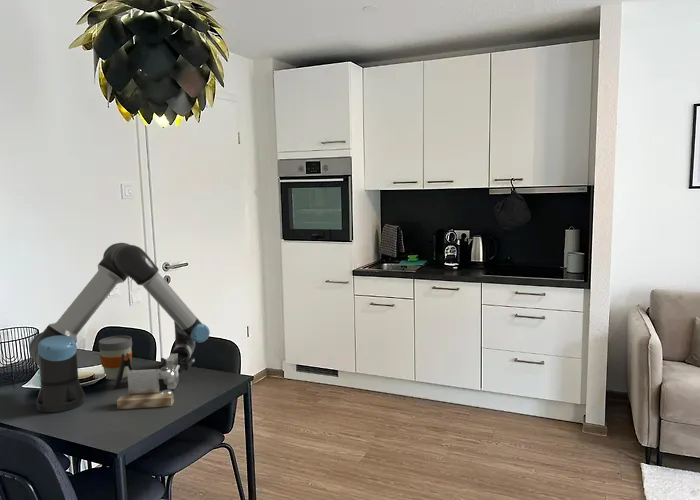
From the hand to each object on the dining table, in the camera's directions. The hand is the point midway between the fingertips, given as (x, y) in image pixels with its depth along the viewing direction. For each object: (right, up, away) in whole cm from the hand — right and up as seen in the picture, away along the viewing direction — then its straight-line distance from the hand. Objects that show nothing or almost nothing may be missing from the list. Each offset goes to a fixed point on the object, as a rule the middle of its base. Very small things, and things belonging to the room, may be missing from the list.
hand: (169, 374), depth 200 cm
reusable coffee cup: (-28, -5, +19) cm, 34 cm away
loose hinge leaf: (0, -6, +4) cm, 7 cm away
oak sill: (-5, -8, -11) cm, 15 cm away
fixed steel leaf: (-4, -8, -7) cm, 11 cm away
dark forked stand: (-19, -6, +8) cm, 22 cm away
